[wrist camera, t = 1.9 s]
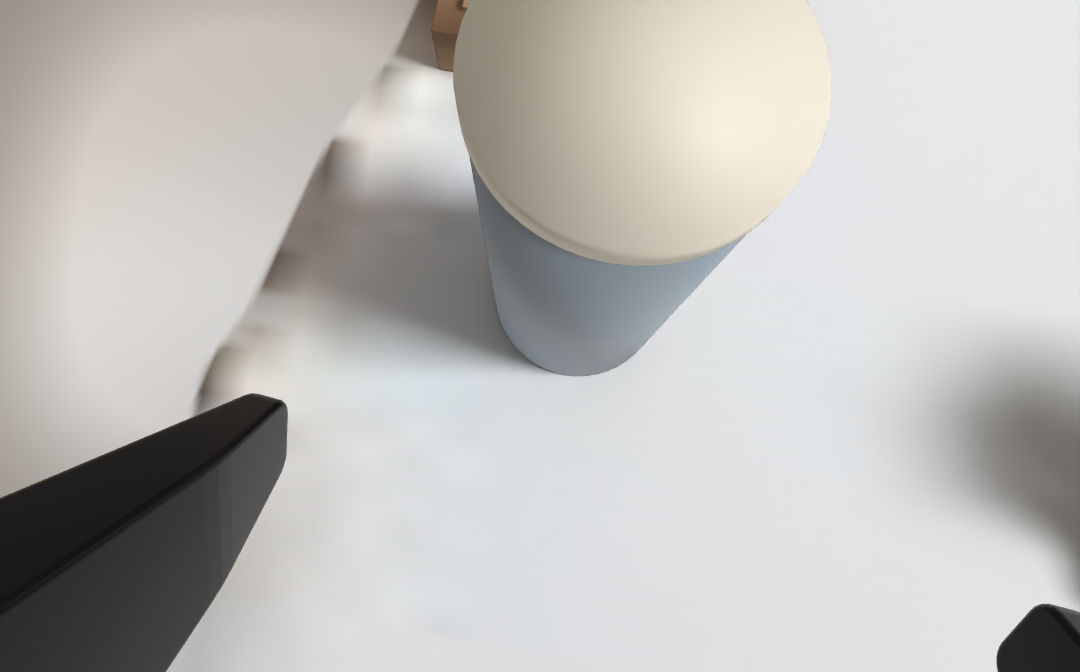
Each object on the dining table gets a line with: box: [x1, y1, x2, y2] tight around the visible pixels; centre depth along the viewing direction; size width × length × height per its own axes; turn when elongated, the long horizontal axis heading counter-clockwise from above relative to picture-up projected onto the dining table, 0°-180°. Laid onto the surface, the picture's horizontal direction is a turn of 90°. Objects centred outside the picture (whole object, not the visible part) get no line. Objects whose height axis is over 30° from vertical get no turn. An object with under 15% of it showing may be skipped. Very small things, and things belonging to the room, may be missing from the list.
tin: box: [453, 0, 832, 376], centre depth 15 cm, size 5×5×12 cm
